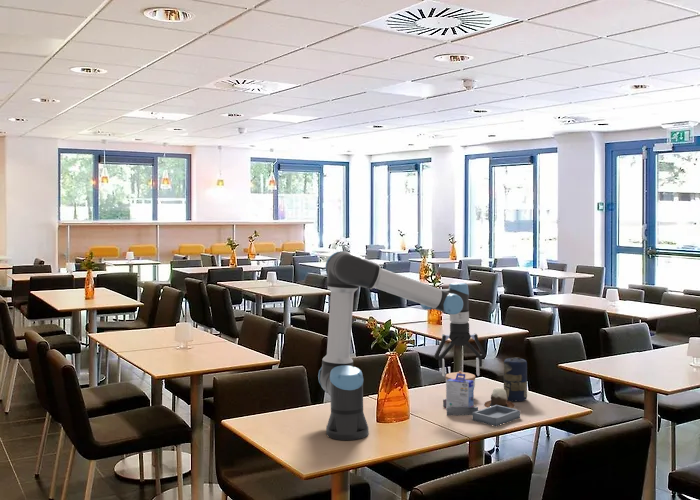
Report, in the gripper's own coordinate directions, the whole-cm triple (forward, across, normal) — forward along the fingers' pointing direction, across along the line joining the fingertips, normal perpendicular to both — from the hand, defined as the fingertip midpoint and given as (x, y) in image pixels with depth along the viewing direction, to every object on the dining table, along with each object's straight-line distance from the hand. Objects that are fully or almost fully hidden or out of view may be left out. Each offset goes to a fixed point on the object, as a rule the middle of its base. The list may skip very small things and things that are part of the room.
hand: (460, 375), depth 275 cm
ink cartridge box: (+14, 0, 0) cm, 14 cm away
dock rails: (+14, 0, 0) cm, 14 cm away
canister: (+15, +24, +15) cm, 32 cm away
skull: (+15, +16, +7) cm, 23 cm away
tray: (+14, +12, -12) cm, 22 cm away
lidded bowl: (+14, +2, +21) cm, 25 cm away
